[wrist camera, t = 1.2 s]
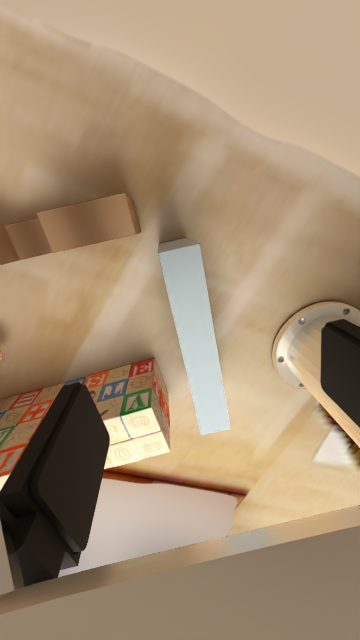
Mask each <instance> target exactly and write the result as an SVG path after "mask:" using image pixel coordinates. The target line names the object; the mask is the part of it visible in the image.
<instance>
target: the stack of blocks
mask: <svg viewBox="0 0 360 640" xmlns="http://www.w3.org/2000/svg"><path fill="white" fill-rule="evenodd" d="M76 382H80V383H81V384H82V385H86V386H87V388H88V390H89V392H90V394H91V396H92V399H93V401H94V403H95V405H96V407H97V409H98V411H99V413H100V416H101V418H102V420H103V422H104V424H105V426H106V428H107V430H108V433H109V436H110V444H109V449H108V453H107V458H106V462H105V467H104V469H106V468H110V467H113V466H114V467H116V466H120V465H123V464H127V463H131V462H135V461H139V460H142V459H144V458H148V457H152V456H156V455H160V454H163V453H167V452H170V430H169V428H170V418H169V403H168V393H167V390H166V387H165V385H164V382H163V379H162V376H161V373H160V370H159V368H158V365H157V363H156V360H155V359H154V358H153V359H150V360H146V361H143V362H139V363H136V364H133V365H131V364H130V365H126V366H122V367H119V368H115V369H112V370H108V371H104V372H100V373H96V374H93V375H89V376H88V377H83V378H80V379H76V380H73V381H69V382H66V383H62V384H58V385H55V386H51V387H48V388H44V389H43V388H42V389H38V390H35V391H31V392H27V393H24V394H19V395H15V396H12V397H8V398H4V399H1V400H0V490H1V489H2V487H3V485H4V484H5V482H6V480H7V479H8V477H9V475H10V474H11V472H12V470H13V468H14V467H15V465H16V463H17V462H18V460H19V458H20V457H21V455H22V453H23V452H24V450H25V448H26V447H27V445H28V443H29V442H30V440H31V438H32V437H33V435H34V433H35V431H36V430H37V428H38V426H39V425H40V423H41V421H42V420H43V418H44V416H45V415H46V413H47V411H48V410H49V408H50V406H51V405H52V403H53V401H54V399H55V398H56V396H57V394H58V393H59V391H60V389H61V388H62V387H63V386H64V385H68V384H72V383H76Z"/></svg>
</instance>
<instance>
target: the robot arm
mask: <svg viewBox="0 0 360 640" xmlns="http://www.w3.org/2000/svg"><path fill="white" fill-rule="evenodd" d="M272 361H273V365H274V367H275V369H276V371H277V373H278V374H279V375H280V377H281V378H282V379H283V380H284V381H285V382H286V383H287V384H289V385H291V386H293V387H296V388H299V389H306V390H309V391H310V393H311V394H312V395H313V396H314V397H315V398H316V399H317V400H318V401H319V403H320V404H321V405H322V406H323V407H324V408H325V409H326V410H327V411H328V413H329V414H330V415H331V416H332V417H333V418H334V419H335V420H336V422H337V423H338V424H339V425H340V426H341V427H342V428H343V429H344V430H345V432H346V433H347V434H348V435H349V436H350V437H351V438H352V439H353V440H354V442H355V443H356V444H357V445H358V446H359V447H360V311H359V310H358V309H356V308H354V307H352V306H350V305H347V304H345V303H341V302H335V301H329V302H321V303H316V304H313V305H311V306H308V307H306V308H304V309H302V310H301V311H299V312H297V313H296V314H295V315H294V316H292V317H291V318H290V319H289V320H288V321H287V322H286V323H285V324H284V325H283V327H282V328H281V330H280V331H279V333H278V334H277V337H276V339H275V341H274V344H273V349H272ZM109 444H110V436H109V433H108V430H107V428H106V426H105V424H104V422H103V420H102V418H101V416H100V413H99V411H98V409H97V407H96V405H95V403H94V401H93V399H92V396H91V394H90V392H89V390H88V388H87V386H86V385H82V384H81V383H80V382H76V383H72V384H68V385H64V386H63V387H62V388H61V389H60V391H59V393H58V394H57V396H56V398H55V399H54V401H53V403H52V405H51V406H50V408H49V410H48V411H47V413H46V415H45V416H44V418H43V420H42V421H41V423H40V425H39V426H38V428H37V430H36V431H35V433H34V435H33V437H32V438H31V440H30V442H29V443H28V445H27V447H26V448H25V450H24V452H23V453H22V455H21V457H20V458H19V460H18V462H17V463H16V465H15V467H14V468H13V470H12V472H11V474H10V475H9V477H8V479H7V480H6V482H5V484H4V485H3V487H2V489H1V490H0V640H360V505H359V506H354V507H350V508H345V509H341V510H337V511H332V512H328V513H324V514H319V515H315V516H311V517H307V518H302V519H298V520H294V521H289V522H285V523H281V524H276V525H272V526H268V527H264V528H259V529H255V530H251V531H247V532H242V533H238V534H234V535H230V536H225V537H222V538H217V539H213V540H209V541H204V542H200V543H196V544H192V545H188V546H183V547H179V548H175V549H171V550H167V551H163V552H158V553H154V554H150V555H146V556H142V557H138V558H134V559H129V560H125V561H121V562H117V563H113V564H109V565H105V566H100V567H97V568H93V569H89V570H85V571H81V572H78V573H74V574H70V575H66V576H62V577H59V578H58V574H59V571H60V570H62V569H66V568H70V567H75V566H78V563H79V559H80V554H81V551H83V550H84V549H85V548H86V546H87V543H88V539H89V534H90V530H91V525H92V521H93V516H94V512H95V507H96V503H97V498H98V494H99V489H100V485H101V480H102V476H103V471H104V467H105V462H106V458H107V453H108V449H109Z"/></svg>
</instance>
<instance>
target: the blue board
mask: <svg viewBox="0 0 360 640" xmlns="http://www.w3.org/2000/svg"><path fill="white" fill-rule="evenodd" d="M158 255H159V259H160V263H161V268H162V272H163V276H164V280H165V284H166V289H167V293H168V297H169V301H170V306H171V310H172V314H173V318H174V322H175V327H176V331H177V335H178V339H179V344H180V348H181V352H182V356H183V360H184V365H185V369H186V373H187V377H188V382H189V386H190V390H191V394H192V398H193V403H194V407H195V411H196V415H197V420H198V424H199V428H200V432H201V435H204V434H209V433H213V432H218V431H222V430H227V429H230V423H229V417H228V411H227V405H226V399H225V393H224V387H223V381H222V375H221V369H220V363H219V357H218V351H217V345H216V339H215V333H214V327H213V321H212V315H211V309H210V303H209V297H208V291H207V285H206V280H205V274H204V268H203V262H202V256H201V250H200V244H199V243H197V242H194V241H192V240H190V239H188V238H183V239H178V240H174V241H169V242H165V243H160V244H159V248H158Z"/></svg>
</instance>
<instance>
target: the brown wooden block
mask: <svg viewBox="0 0 360 640" xmlns="http://www.w3.org/2000/svg"><path fill="white" fill-rule="evenodd" d="M37 215H38V217H39V218H36V219H31V220H27V221H22V222H18V223H13V224H9V225H5V226H0V265H2V264H6V263H10V262H14V261H18V260H22V259H26V258H31V257H35V256H40V255H44V254H49V253H55V252H59V251H64V250H68V249H73V248H77V247H82V246H86V245H90V244H95V243H99V242H104V241H108V240H113V239H117V238H121V237H126V236H130V235H135V234H138V233H141V229H140V226H139V222H138V218H137V214H136V210H135V206H134V202H133V200H132V199H131V198H130V197H129V196H128V195H126V194H125V193H122V194H117V195H113V196H108V197H104V198H100V199H95V200H91V201H86V202H82V203H77V204H73V205H69V206H64V207H60V208H55V209H51V210H47V211H42V212H38V213H37Z"/></svg>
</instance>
